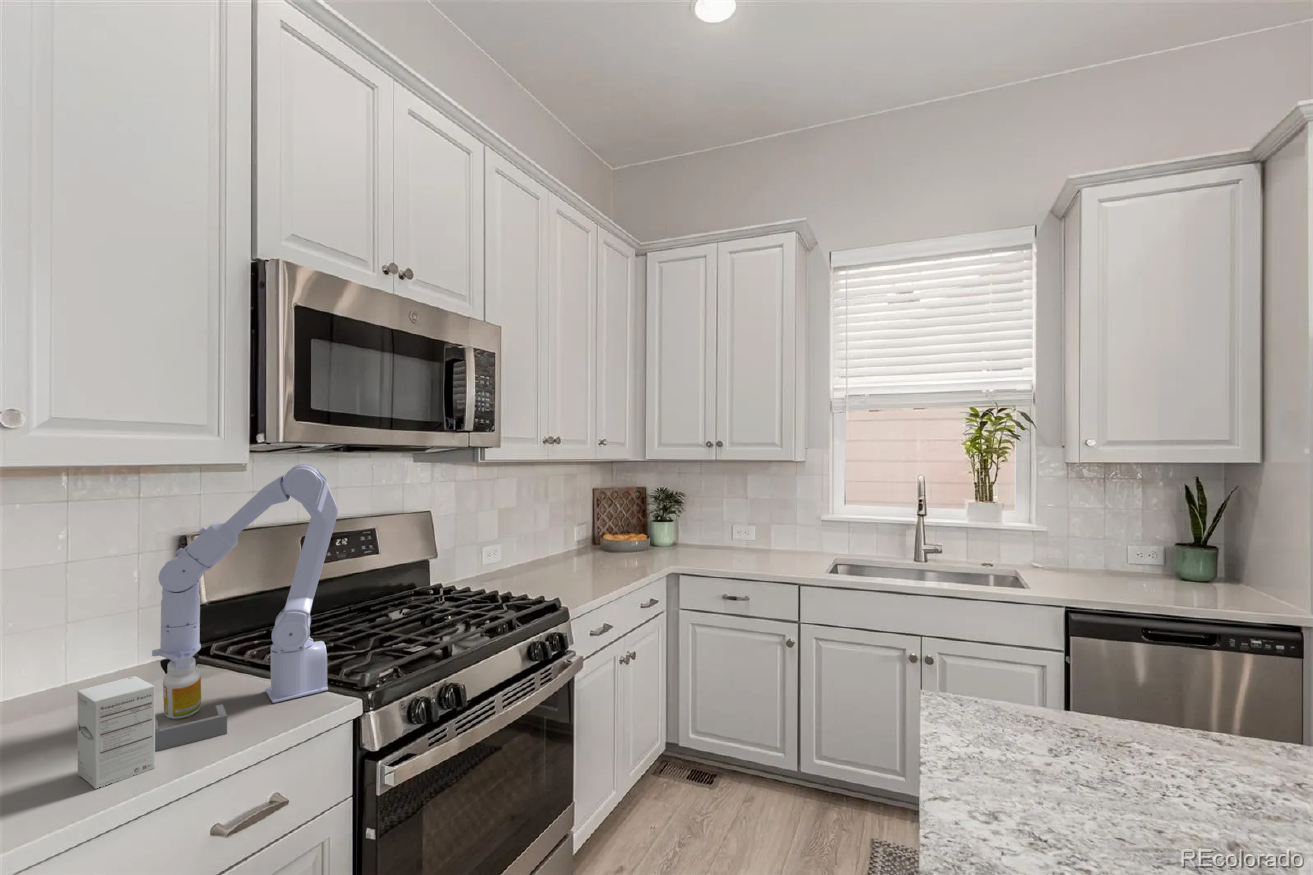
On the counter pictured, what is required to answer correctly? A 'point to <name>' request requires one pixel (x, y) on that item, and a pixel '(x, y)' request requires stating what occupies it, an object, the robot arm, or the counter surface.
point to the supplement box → (116, 730)
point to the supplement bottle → (182, 690)
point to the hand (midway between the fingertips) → (179, 697)
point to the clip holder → (191, 730)
